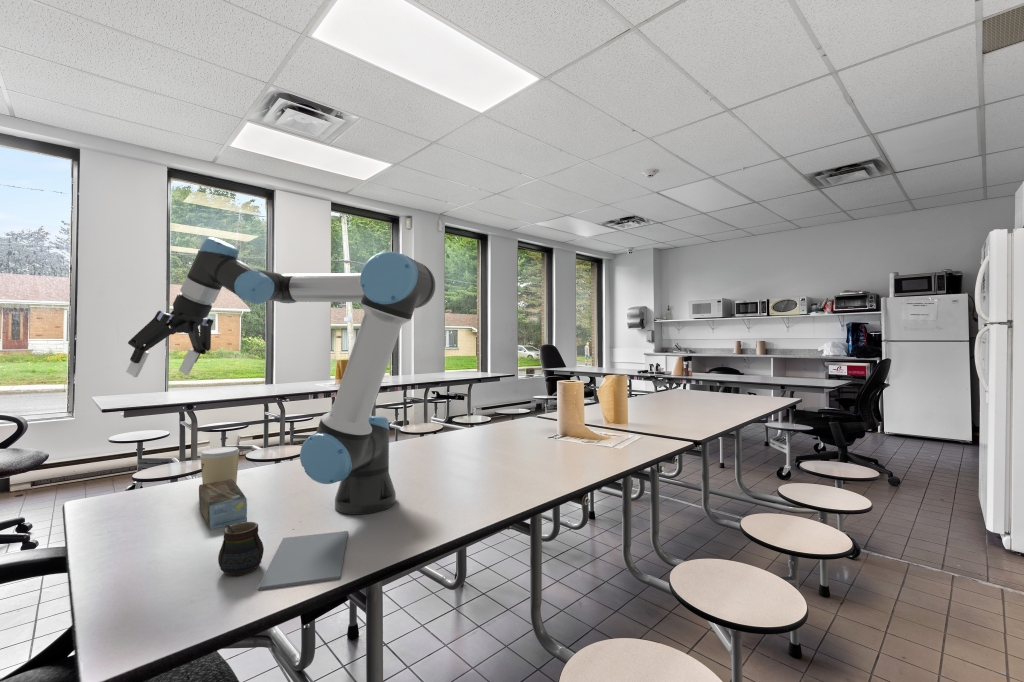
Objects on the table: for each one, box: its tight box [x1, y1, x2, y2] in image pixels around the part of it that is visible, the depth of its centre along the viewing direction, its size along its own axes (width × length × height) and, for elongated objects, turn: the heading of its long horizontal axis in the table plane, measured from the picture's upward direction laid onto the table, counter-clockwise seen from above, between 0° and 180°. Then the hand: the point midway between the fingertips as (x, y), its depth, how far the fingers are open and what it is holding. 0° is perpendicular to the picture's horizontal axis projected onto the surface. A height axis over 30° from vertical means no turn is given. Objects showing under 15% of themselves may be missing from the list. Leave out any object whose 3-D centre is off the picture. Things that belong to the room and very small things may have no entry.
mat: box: [257, 530, 349, 591], centre depth 88 cm, size 13×20×1 cm, turn 16°
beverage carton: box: [198, 479, 248, 530], centre depth 112 cm, size 8×19×7 cm, turn 40°
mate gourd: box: [217, 521, 265, 577], centre depth 84 cm, size 7×8×10 cm
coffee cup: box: [199, 446, 240, 484], centre depth 128 cm, size 9×9×12 cm
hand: (159, 373), depth 113 cm, fingers open, 13 cm apart
